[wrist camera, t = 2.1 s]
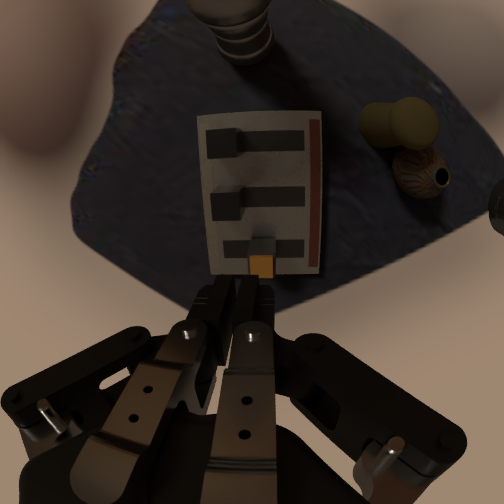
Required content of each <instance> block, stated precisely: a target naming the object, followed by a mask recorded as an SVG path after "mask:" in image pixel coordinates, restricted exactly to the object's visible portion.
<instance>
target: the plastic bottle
mask: <svg viewBox="0 0 504 504" xmlns="http://www.w3.org/2000/svg"><path fill="white" fill-rule="evenodd" d="M186 1H187V6H188V8H189V10H190V12H191V13H192V14H193V15H194V16H195V17H196V18H197V19H198V20H200V21H201V22H202V23H204V24H205V25H206V26H208V27H209V28H210V29H211V31H212V32H213V33H214V35H215V42H216V46H217V50H218V52H219V54H220V55H221V56H222V57H223V58H224V59H225V60H227V61H229V62H231V63H233V64H235V65H240V66H249V65H253V64H256V63H258V62H260V61H262V60H263V59H265V58H266V57H267V56H268V54H269V53H270V51H271V50H272V47H273V45H274V41H275V39H274V33H273V30H272V27H271V26H270V24H269V22H268V9H269V6H270V2H271V0H186Z"/></svg>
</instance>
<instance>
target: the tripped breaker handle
mask: <svg viewBox="0 0 504 504" xmlns="http://www.w3.org/2000/svg"><path fill="white" fill-rule="evenodd" d="M247 260H248V275H259V278H276V238H252V239H250V243H249V247H248V251H247Z"/></svg>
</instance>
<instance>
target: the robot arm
mask: <svg viewBox="0 0 504 504" xmlns="http://www.w3.org/2000/svg"><path fill="white" fill-rule="evenodd" d="M489 218H490V222H491V225H492V227H493V228H494V230H496V231H497V232H498V233H500V234H502V235H503V236H504V179H503V180H501V181H500V182H499V183H498V184H497V185H496V186H495V188H494V190H493V192H492V195H491V198H490V203H489ZM274 318H275V307H274V290H273V289H272V287H271V286H270V285H259V275H242V278H241V282H240V287H239V291H238V295H237V299H236V290H235V278H234V275H217V277H216V279H215V282H214V284H213V285H205V286H204V287H203V288H202V289H200V290H199V292H198V294H197V296H196V298H195V300H194V304H193V305H192V307H191V309H190V311H189V313H188V316H187V318H186V320H183V321H180V322H178V323H176V324H175V325H174V326H173V327H172V328H171V330H170V332H169V334H167V335H160V336H153V337H151V335H150V332H149V331H148V329H146V328H145V327H141V326H134V327H129V328H126V329H124V330H122V331H120V332H118V333H116V334H115V335H112V336H111V337H108V338H106V339H105V340H103V341H101V342H99V343H97V344H95V345H93V346H91V347H89V348H87V349H85V350H83V351H81V352H79V353H77V354H75V355H73V356H71V357H69V358H67V359H65V360H63V361H61V362H59V363H57V364H55V365H53V366H51V367H49V368H47V369H45V370H43V371H41V372H39V373H37V374H35V375H33V376H31V377H29V378H27V379H25V380H23V381H21V382H19V383H17V384H15V385H13V386H11V387H9V388H8V389H7V390H6V391H5V392H4V393H3V395H2V397H1V407H2V408H3V410H4V411H5V412H6V413H7V414H8V416H9V417H10V418H11V419H12V420H13V421H14V423H15V425H16V426H17V427H18V428H19V431H20V434H21V437H22V440H23V443H24V446H25V449H26V452H27V455H28V457H29V460H30V461H28V462H27V463H26V465H25V466H24V468H23V469H22V472H21V474H20V479H19V504H413V503H414V502H415V501H416V500H417V499H418V497H419V496H420V495H421V494H422V493H423V492H424V491H425V489H426V488H427V487H428V486H429V485H430V484H431V483H432V482H433V481H434V480H436V479H437V478H438V477H439V476H440V475H442V474H443V473H444V472H445V471H446V470H447V469H448V468H450V467H451V466H452V465H453V464H454V463H455V462H456V461H457V460H459V458H461V457H462V455H463V454H464V452H465V450H466V447H467V438H466V435H465V433H464V431H463V430H462V429H461V428H460V427H459V426H458V425H456V424H454V423H453V422H451V421H450V420H448V419H447V418H445V417H444V416H442V415H441V414H439V413H438V412H436V411H434V410H433V409H431V408H430V407H429V406H427V405H425V404H424V403H422V402H421V401H419V400H418V399H416V398H415V397H413V396H412V395H411V394H409V393H408V392H406V391H404V390H403V389H402V388H400V387H399V386H397V385H396V384H394V383H393V382H391V381H390V380H388V379H387V378H385V377H384V376H383V375H381V374H380V373H378V372H376V371H375V370H374V369H372V368H371V367H370V366H368V365H367V364H365V363H364V362H362V361H361V360H359V359H358V358H356V357H355V356H354V355H352V354H351V353H349V352H348V351H347V350H345V349H344V348H342V347H341V346H339V345H338V344H337V343H335V342H334V341H332V340H331V339H330V338H328V337H327V336H324V335H322V334H316V333H309V334H304V335H302V336H300V337H298V338H297V339H296V340H295V341H292V340H288V339H284V338H282V337H280V336H279V335H278V334H277V333H276V332H275V330H274ZM232 333H233V339H232V346H231V352H230V359H229V366H228V369H225V370H224V373H223V379H222V385H221V391H220V398H219V405H218V410H217V414H209V415H206V413H207V409H208V406H209V403H210V400H211V396H212V393H213V390H214V387H215V383H216V370H217V366H225V365H226V360H227V356H228V351H229V347H230V342H231V338H232ZM126 367H127V369H128V371H129V373H130V375H129V376H128V377H126V378H124V379H122V380H121V381H119V382H117V383H115V384H114V385H112V386H110V387H108V388H106V389H103V390H101V389H99V385H100V383H101V382H102V381H103V380H104V379H106V378H108V377H110V376H111V375H113V374H115V373H117V372H118V371H120V370H122V369H124V368H126ZM275 393H276V394H279V395H283V396H287V397H290V401H291V403H292V404H293V405H294V406H295V407H296V408H297V409H298V410H299V411H300V412H301V413H302V414H303V415H305V417H306V418H307V419H309V420H310V421H311V422H312V423H313V424H314V425H315V426H316V427H317V428H318V429H319V430H320V431H321V432H322V433H323V434H324V435H325V436H327V437H328V438H329V439H330V440H331V441H332V442H333V443H334V444H335V445H337V446H338V447H339V448H340V449H341V450H342V451H343V452H344V453H346V454H347V455H348V456H349V457H350V458H351V459H352V460H354V461H355V462H356V464H355V466H354V468H353V477H354V480H355V482H356V483H357V484H358V485H359V487H360V488H361V490H362V494H363V496H362V495H360V494H359V493H358V492H357V491H356V490H355V489H353V488H352V487H351V486H350V485H349V484H348V483H347V482H346V481H344V480H343V479H342V478H341V477H340V476H339V475H338V474H337V473H336V472H335V471H333V470H332V469H331V468H330V467H329V466H328V465H327V464H326V463H325V462H324V461H323V460H322V459H321V458H320V457H319V456H318V455H317V454H316V453H315V452H314V451H313V450H312V449H311V448H310V447H309V446H308V445H307V444H306V443H305V442H304V441H303V440H302V439H301V438H299V437H298V436H297V435H296V434H295V433H293V432H291V431H290V430H288V429H286V428H284V427H282V426H279V425H276V411H275V409H276V408H275Z"/></svg>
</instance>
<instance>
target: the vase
mask: <svg viewBox="0 0 504 504" xmlns="http://www.w3.org/2000/svg"><path fill="white" fill-rule="evenodd" d="M392 173H393V177H394V179H395V181H396V183H397V185H398V186H399V187H400V188H401V189H402V190H403V191H404V192H405V193H406V194H408V195H410V196H411V197H414V198H417V199H432V198H435V197H437V196H439V195H440V194H441V193H442V192H443V191H444V190H445V188H446V187H447V186H448V185H449V183H450V181H451V173H450V171H449V166H448V163H447V160H446V158H445V157H444V155H443V154H442V153H441V152H440V151H439V150H438V149H437V148H436V147H434V146H433V145H431V146H430V147H428V148H425V149H423V150H412V149H409V148H407V147H404V146H401V147H400V148H399V149H398V150H397V152H396V153H395V155H394V157H393V161H392Z"/></svg>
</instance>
